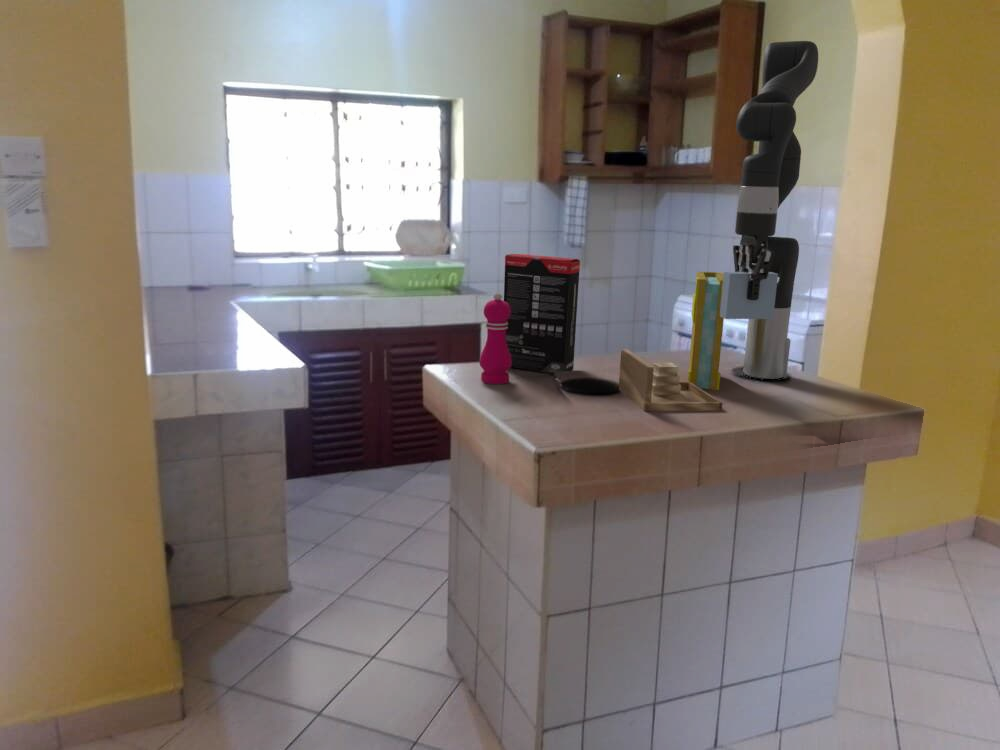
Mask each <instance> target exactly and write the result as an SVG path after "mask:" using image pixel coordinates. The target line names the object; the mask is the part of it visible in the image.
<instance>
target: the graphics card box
mask: <svg viewBox="0 0 1000 750" xmlns="http://www.w3.org/2000/svg"><path fill="white" fill-rule="evenodd" d="M580 267H581V260H580V259H578V258H570V257H560V256H547V255H535V254H523V253H520V254H519V253H508V254H505V255H504V281H503V282H504V283H503V284H504V285H503V301H505V302H507V303H508V304H509V306H510V309H511V315H510V317H509V318H508V319H507V321H506V322H508V328H507V329H506V344H507V347H508V349H509V352H510V355H511V359H512V365H511V367H510V368H515V369H521V370H527V371H534V372H541V373H544V374H552V375H554V374H555V373H554V372H572V371H573V370H574V364H575V363H574V361H575V348H576V347H575V346H576V332H577V331H576V329H577V312H578V297H579V284H580V283H579V282H580V269H581V268H580Z"/></svg>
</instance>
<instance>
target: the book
mask: <svg viewBox="0 0 1000 750" xmlns="http://www.w3.org/2000/svg"><path fill="white" fill-rule="evenodd" d="M723 275H724V272H717V271H716V272H715V271H697V272H696V278H695V292H694V293H693V294H692V304H691V306H692V307H691V318H692V319H691V320H692V325H691V326H692V327H691V335H690V338H691V339H690V346H689V347H690V348H689V349H690V350H689V358H688V361H689V362H688V370H687V371H688V372H687V374H688V375H687V382H691V383H693V384H694V385H696V386H697V387H699V388H700V389H704V390H705V389H708V390H714V391H720V383H721V372H719V369H720V361H721V350H722V340H723V329H724V321H725V320H724V319H725V318H723V317H720V307H721V296H722V286H723Z"/></svg>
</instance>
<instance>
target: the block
mask: <svg viewBox="0 0 1000 750" xmlns="http://www.w3.org/2000/svg"><path fill="white" fill-rule="evenodd" d="M753 273H754V272H753ZM723 274H724V275H723V286H722V296H721V307H720V317H723V318H724V319H725V320H749V319H773V315H774V306H775V297H776V288H777V283H778V280H779V277H778V274H776V273H773V272H769V273H768V276H767V279H763V280H762V281H760V289H759V298H758V300H748V299H747V289H748V281H749V279H748V274H749V272H735V271H723Z"/></svg>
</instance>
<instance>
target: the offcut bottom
mask: <svg viewBox="0 0 1000 750" xmlns="http://www.w3.org/2000/svg"><path fill="white" fill-rule="evenodd" d="M680 392H681V385H680V384H679V385H662V386H656V385H655V384H652V394H653V395H680Z"/></svg>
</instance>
